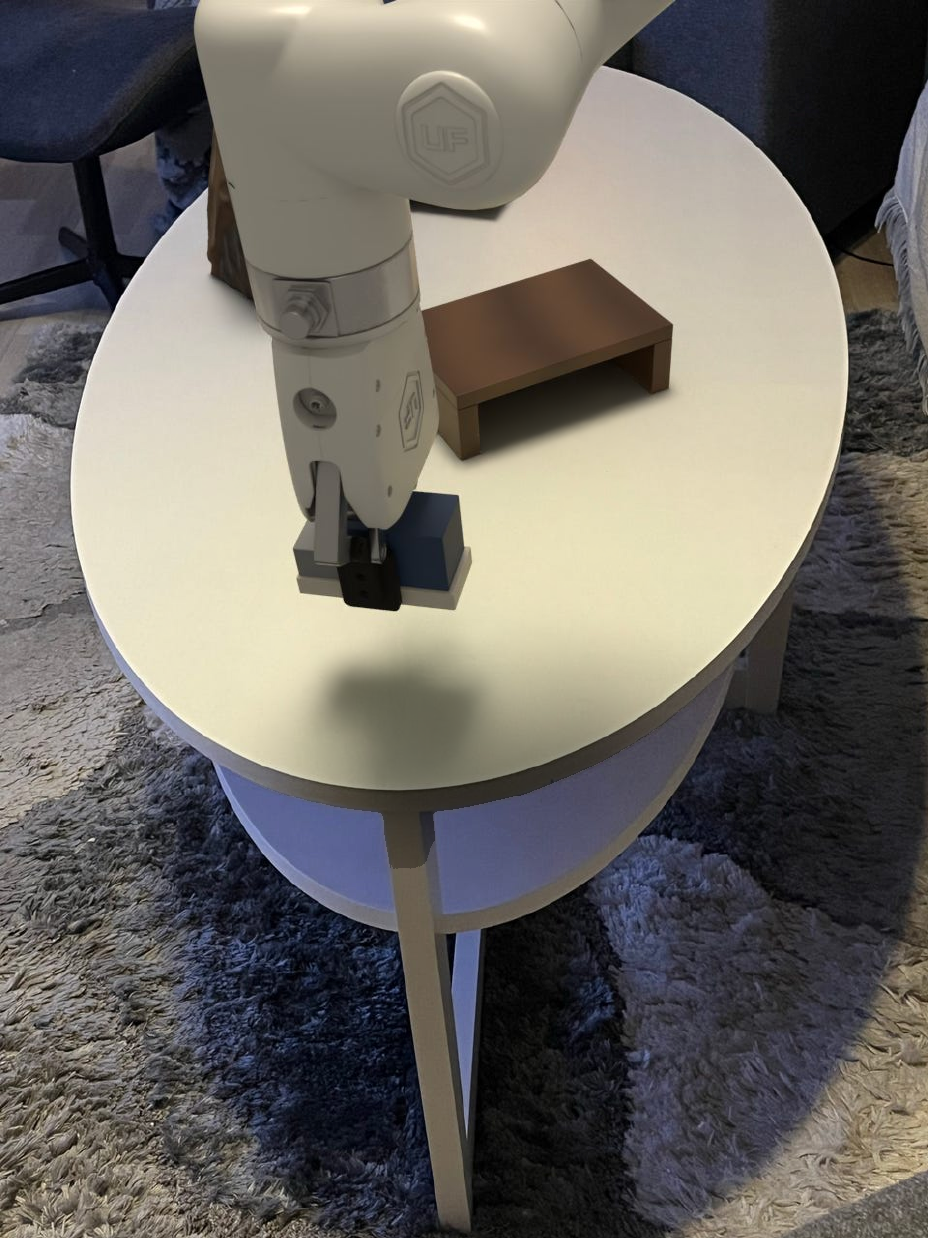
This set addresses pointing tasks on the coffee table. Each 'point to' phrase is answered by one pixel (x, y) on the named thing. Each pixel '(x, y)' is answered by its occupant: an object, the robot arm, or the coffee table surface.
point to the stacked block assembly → (404, 553)
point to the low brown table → (538, 341)
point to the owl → (224, 229)
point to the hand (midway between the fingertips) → (385, 573)
